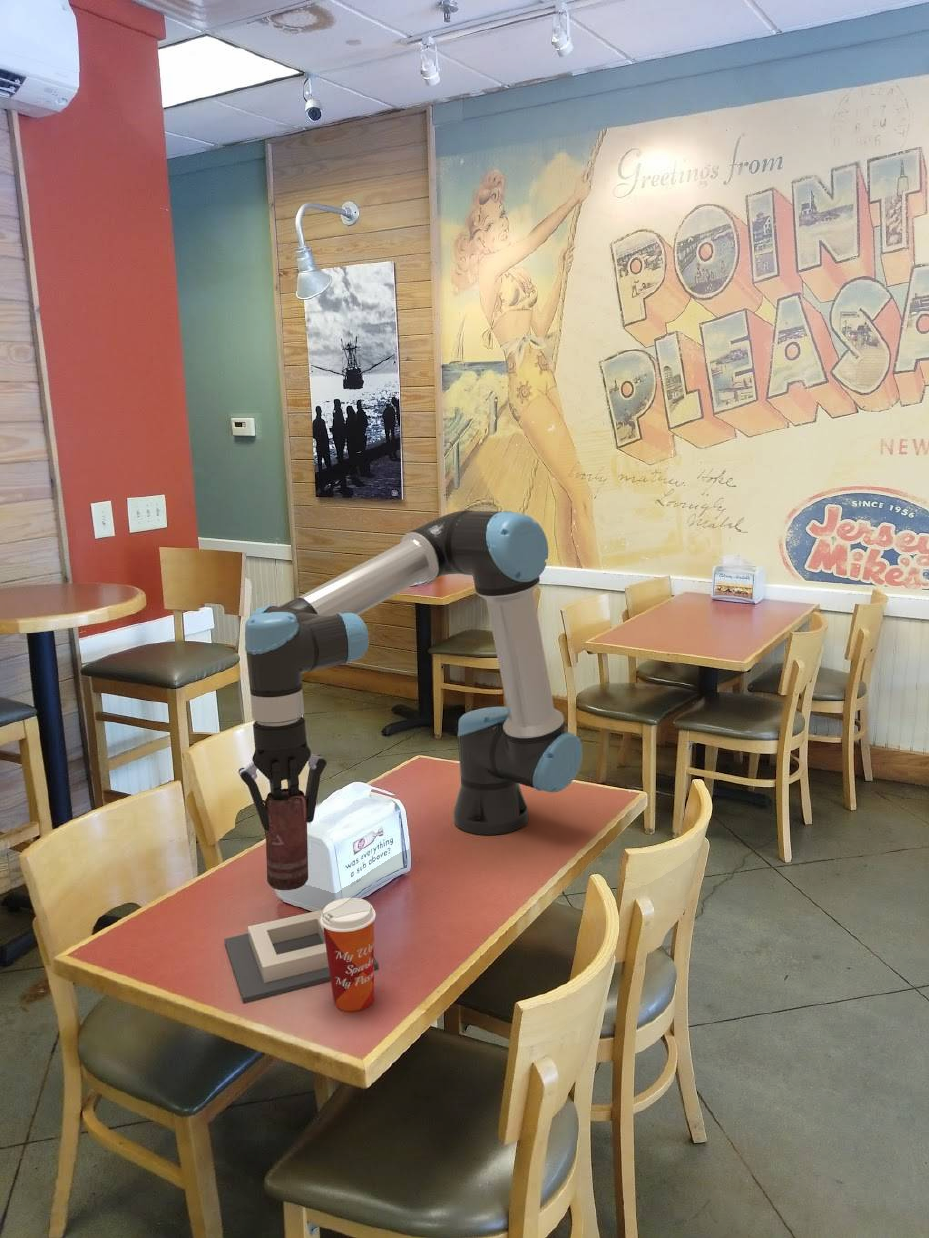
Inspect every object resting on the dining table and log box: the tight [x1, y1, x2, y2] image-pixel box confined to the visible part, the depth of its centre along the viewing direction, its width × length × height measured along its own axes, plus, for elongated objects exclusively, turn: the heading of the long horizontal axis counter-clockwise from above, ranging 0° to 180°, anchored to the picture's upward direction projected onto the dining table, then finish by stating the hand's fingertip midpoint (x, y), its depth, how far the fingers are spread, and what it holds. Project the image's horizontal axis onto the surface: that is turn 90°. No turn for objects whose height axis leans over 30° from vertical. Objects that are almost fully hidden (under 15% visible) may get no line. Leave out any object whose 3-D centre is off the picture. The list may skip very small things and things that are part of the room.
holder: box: [247, 908, 329, 983], centre depth 148 cm, size 13×13×2 cm
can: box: [264, 787, 309, 891], centre depth 145 cm, size 6×6×14 cm
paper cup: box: [320, 897, 377, 1013], centre depth 135 cm, size 8×8×14 cm
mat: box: [223, 933, 379, 1004], centre depth 149 cm, size 20×18×1 cm
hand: (291, 868), depth 146 cm, fingers closed
